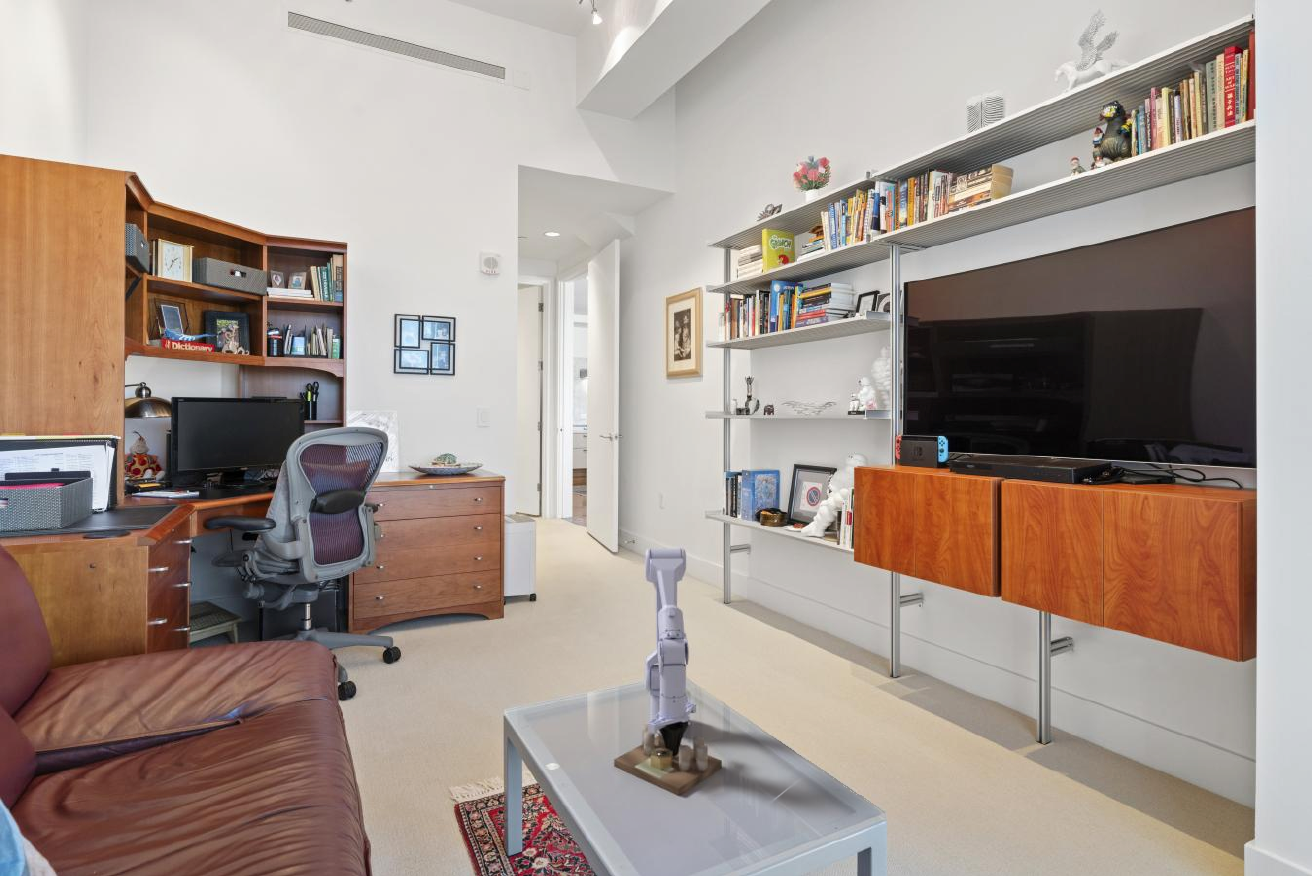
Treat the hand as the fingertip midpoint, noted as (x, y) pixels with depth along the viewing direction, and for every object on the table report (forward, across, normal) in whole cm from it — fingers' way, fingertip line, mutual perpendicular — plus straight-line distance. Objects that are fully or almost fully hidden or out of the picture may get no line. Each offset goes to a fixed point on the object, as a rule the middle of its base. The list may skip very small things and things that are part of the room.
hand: (672, 754), depth 153 cm
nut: (+1, -4, 0) cm, 4 cm away
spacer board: (+2, -2, 0) cm, 3 cm away
